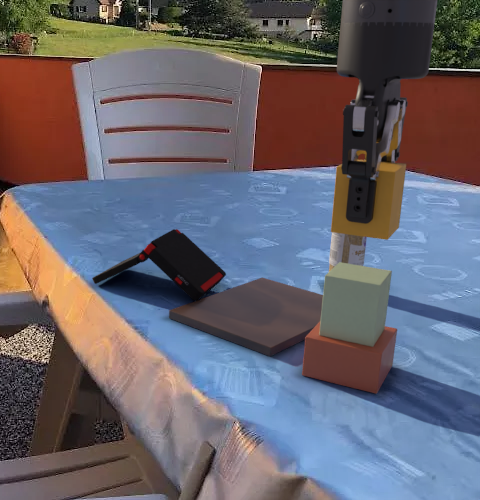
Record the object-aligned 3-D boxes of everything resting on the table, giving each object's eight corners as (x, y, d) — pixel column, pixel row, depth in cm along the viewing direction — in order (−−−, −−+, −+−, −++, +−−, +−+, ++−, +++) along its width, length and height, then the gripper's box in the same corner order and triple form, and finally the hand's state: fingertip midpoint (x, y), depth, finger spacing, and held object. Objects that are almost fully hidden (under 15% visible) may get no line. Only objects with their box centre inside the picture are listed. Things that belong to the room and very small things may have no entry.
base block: (322, 349, 73) (326, 313, 72) (392, 365, 70) (397, 328, 69) (301, 375, 68) (305, 336, 67) (376, 394, 64) (381, 353, 63)
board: (261, 284, 93) (262, 277, 93) (358, 313, 84) (359, 305, 84) (168, 318, 81) (168, 310, 81) (270, 356, 72) (270, 347, 71)
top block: (344, 220, 68) (350, 158, 66) (399, 227, 66) (406, 163, 64) (330, 232, 64) (336, 166, 62) (387, 240, 62) (395, 171, 60)
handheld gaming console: (228, 273, 92) (184, 322, 97) (161, 211, 95) (121, 262, 99) (201, 294, 84) (155, 347, 89) (129, 226, 86) (87, 281, 91)
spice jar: (363, 295, 90) (375, 191, 86) (326, 292, 91) (336, 189, 87) (359, 283, 94) (371, 184, 91) (324, 280, 95) (334, 182, 91)
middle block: (333, 318, 71) (339, 261, 69) (384, 329, 69) (392, 270, 67) (318, 335, 67) (324, 275, 65) (372, 347, 64) (380, 285, 63)
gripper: (419, 16, 52) (393, 239, 57) (446, 21, 64) (423, 206, 69) (318, 16, 56) (301, 226, 60) (362, 22, 67) (345, 197, 72)
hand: (366, 214), depth 65 cm, fingers closed on top block, 5 cm apart
